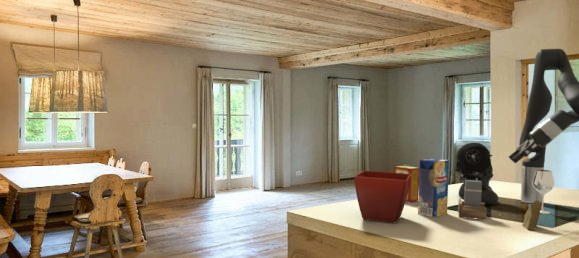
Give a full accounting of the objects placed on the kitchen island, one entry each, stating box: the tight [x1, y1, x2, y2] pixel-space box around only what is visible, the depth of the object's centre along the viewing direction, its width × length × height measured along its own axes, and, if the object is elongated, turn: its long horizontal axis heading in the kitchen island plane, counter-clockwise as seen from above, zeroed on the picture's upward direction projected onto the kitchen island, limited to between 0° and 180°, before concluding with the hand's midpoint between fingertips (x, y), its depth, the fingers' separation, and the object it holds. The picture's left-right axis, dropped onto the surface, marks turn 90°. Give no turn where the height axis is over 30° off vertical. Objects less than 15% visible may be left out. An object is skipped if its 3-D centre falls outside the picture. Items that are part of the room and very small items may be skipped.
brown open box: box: [457, 198, 488, 220], centre depth 180 cm, size 12×10×6 cm
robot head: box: [454, 142, 499, 206], centre depth 217 cm, size 30×17×29 cm, turn 179°
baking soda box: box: [393, 165, 420, 203], centre depth 211 cm, size 10×6×16 cm
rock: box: [522, 200, 542, 231], centre depth 163 cm, size 11×9×10 cm
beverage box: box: [417, 158, 450, 218], centre depth 181 cm, size 7×11×22 cm, turn 132°
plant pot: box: [353, 170, 411, 224], centre depth 171 cm, size 19×19×17 cm
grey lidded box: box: [463, 180, 482, 207], centre depth 180 cm, size 5×6×11 cm
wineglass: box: [532, 169, 555, 215], centre depth 190 cm, size 8×8×18 cm
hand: (511, 160), depth 179 cm, fingers open, 8 cm apart
